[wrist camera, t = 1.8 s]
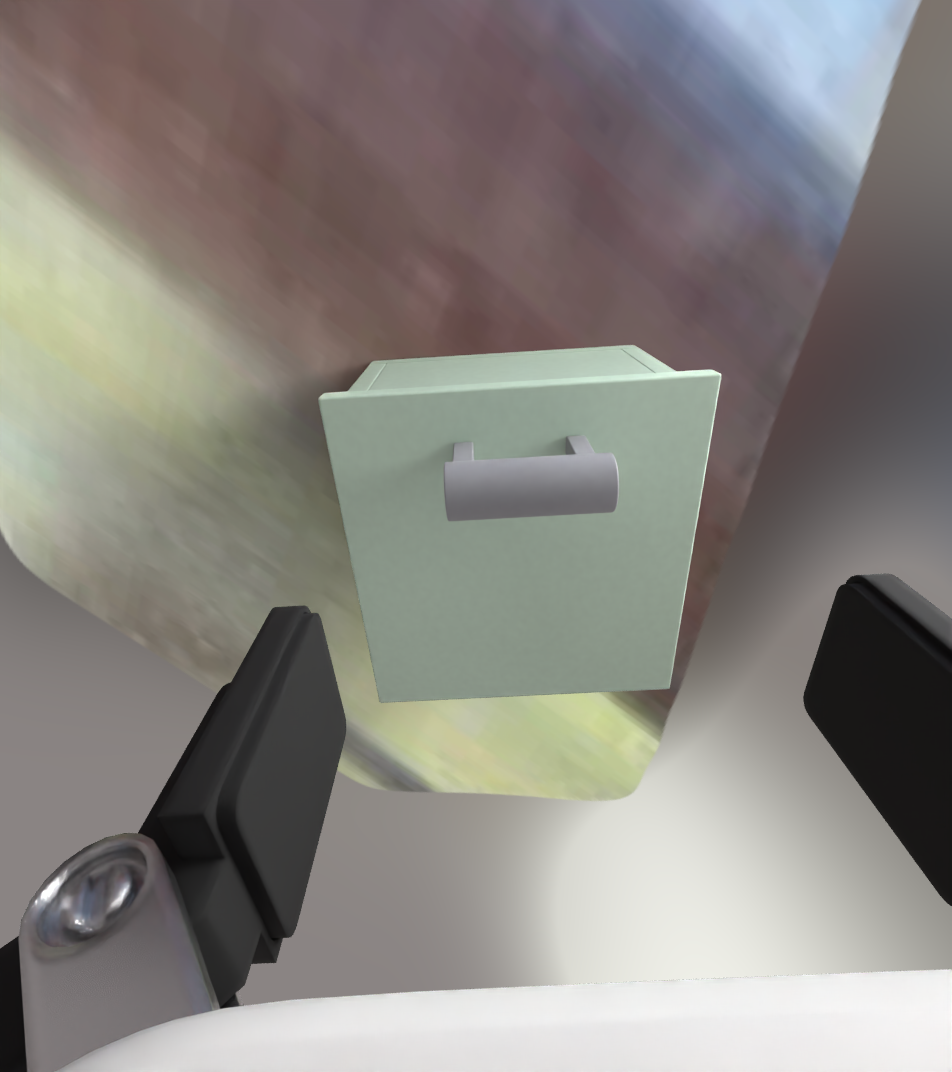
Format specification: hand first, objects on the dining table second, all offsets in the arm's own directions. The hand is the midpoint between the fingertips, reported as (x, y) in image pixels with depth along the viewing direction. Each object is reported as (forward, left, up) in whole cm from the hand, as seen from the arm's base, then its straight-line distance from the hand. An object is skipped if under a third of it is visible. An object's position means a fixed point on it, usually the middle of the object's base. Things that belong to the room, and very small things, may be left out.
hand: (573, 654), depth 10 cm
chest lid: (+4, -3, -11) cm, 12 cm away
